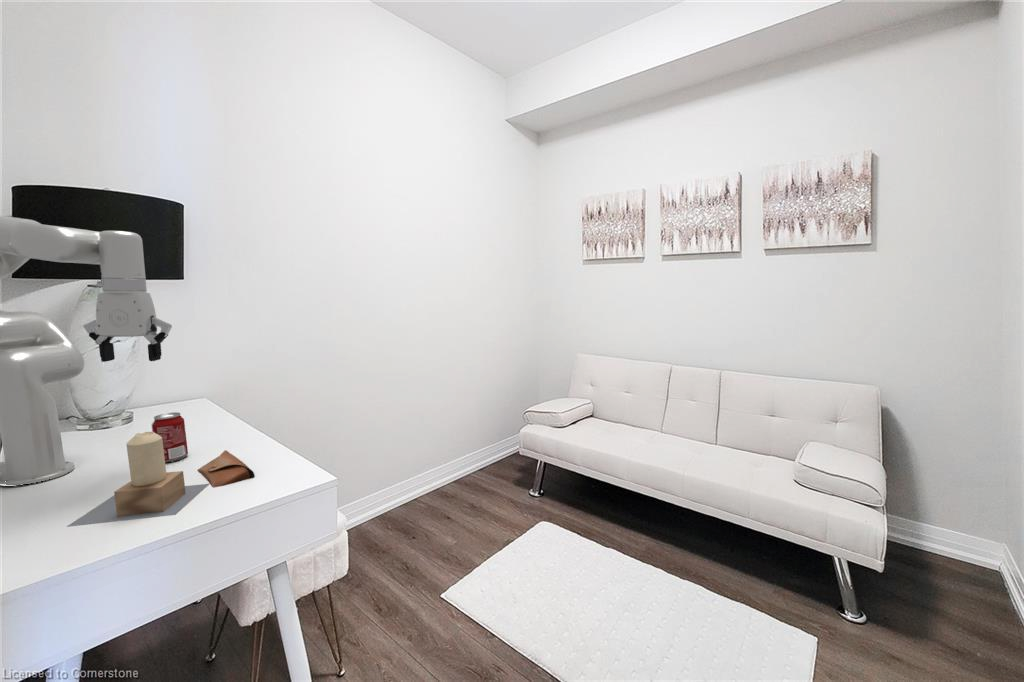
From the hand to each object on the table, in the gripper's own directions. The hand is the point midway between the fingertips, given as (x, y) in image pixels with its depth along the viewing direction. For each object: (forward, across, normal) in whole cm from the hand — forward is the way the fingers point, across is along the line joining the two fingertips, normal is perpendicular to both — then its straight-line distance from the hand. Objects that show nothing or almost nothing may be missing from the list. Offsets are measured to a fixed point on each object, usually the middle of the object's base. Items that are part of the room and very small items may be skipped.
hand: (131, 360), depth 101 cm
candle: (+22, +12, -18) cm, 31 cm away
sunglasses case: (+28, +20, -4) cm, 35 cm away
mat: (+28, +11, -17) cm, 34 cm away
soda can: (+29, +1, +11) cm, 31 cm away
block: (+27, +13, -18) cm, 35 cm away
